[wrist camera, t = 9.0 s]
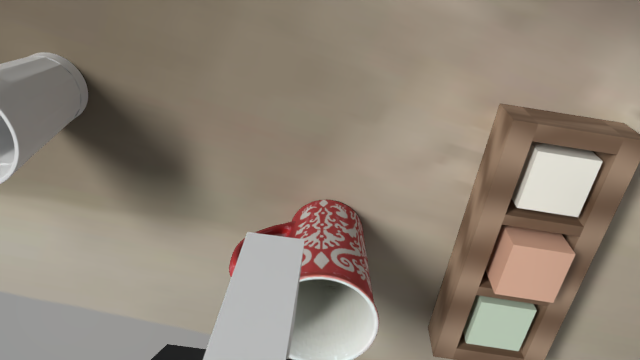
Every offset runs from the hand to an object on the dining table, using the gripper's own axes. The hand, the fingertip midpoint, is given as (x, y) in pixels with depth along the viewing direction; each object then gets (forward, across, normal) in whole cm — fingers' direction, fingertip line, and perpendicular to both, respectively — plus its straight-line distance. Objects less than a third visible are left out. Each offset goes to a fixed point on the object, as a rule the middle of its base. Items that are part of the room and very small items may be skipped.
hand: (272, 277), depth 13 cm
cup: (+32, -24, -8) cm, 41 cm away
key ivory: (+32, +21, -9) cm, 39 cm away
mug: (+32, +1, -18) cm, 37 cm away
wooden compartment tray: (+32, +21, -17) cm, 42 cm away
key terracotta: (+30, +21, -17) cm, 40 cm away
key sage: (+31, +20, -25) cm, 45 cm away
